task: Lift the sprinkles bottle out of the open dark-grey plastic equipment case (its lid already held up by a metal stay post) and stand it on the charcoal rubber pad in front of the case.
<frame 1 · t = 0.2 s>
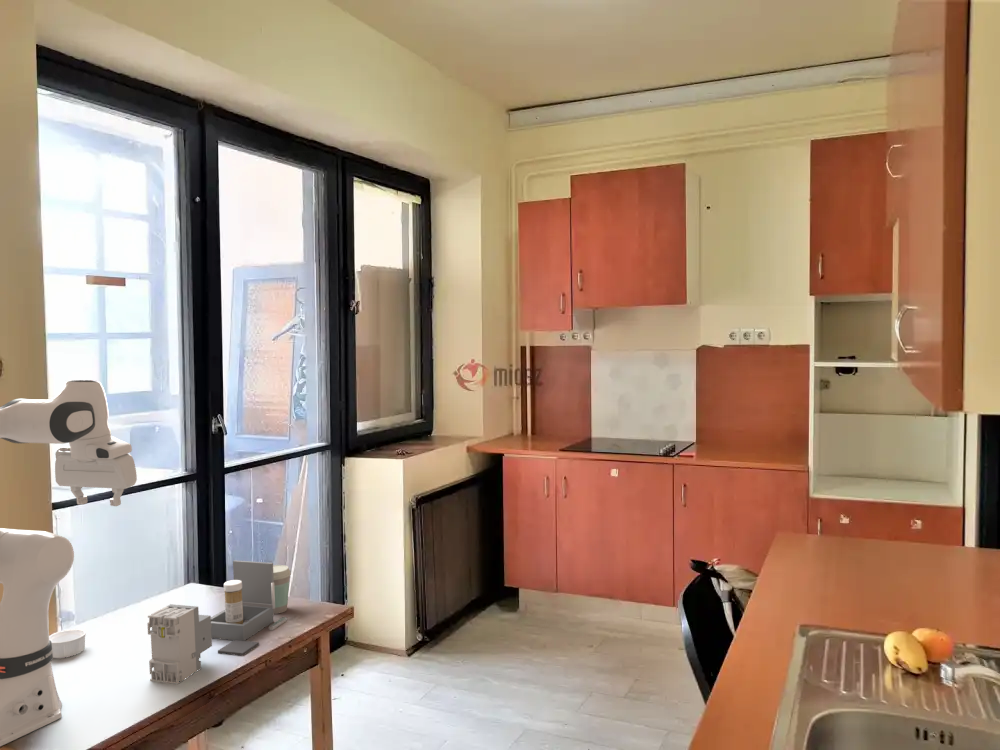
hand: (99, 504, 187), 39 cm above the table, tool pointing down, fingers open, 8 cm apart
coffee cup: (276, 611, 226), on the table
sprinkles bottle: (234, 632, 210), resting in case
pad: (238, 648, 199), on the table
circuit breaker: (184, 670, 187), on the table
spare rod: (277, 626, 214), on the table
case: (239, 629, 212), on the table
ramekin: (66, 653, 199), on the table
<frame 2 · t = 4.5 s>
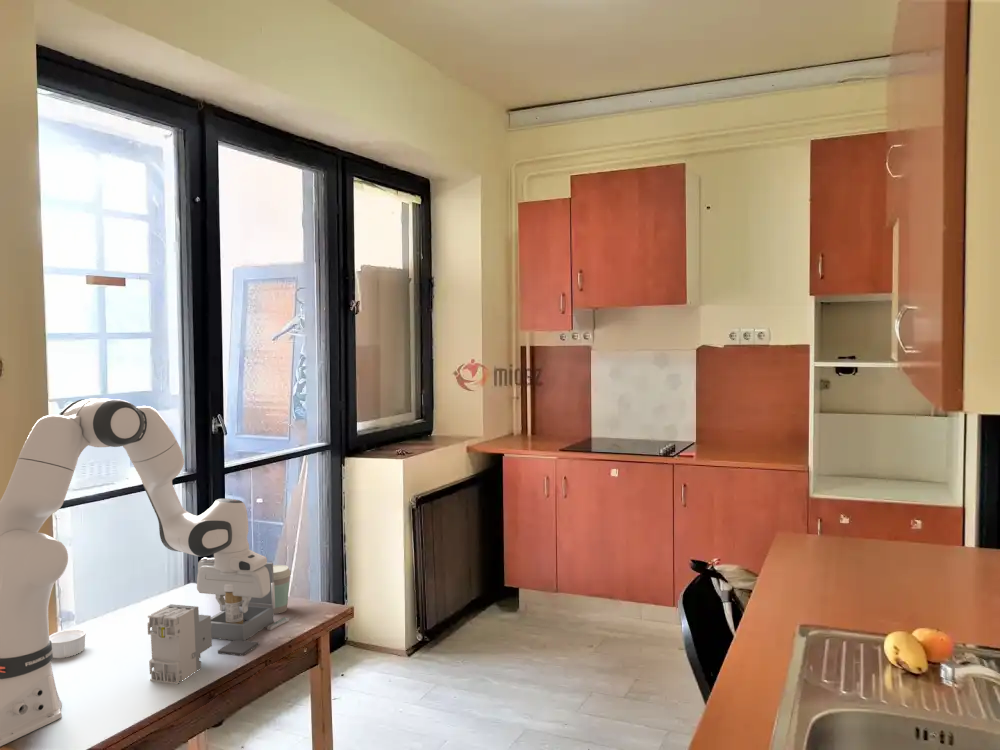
hand: (234, 611, 210), 6 cm above the table, tool pointing down, fingers closed on sprinkles bottle, 4 cm apart
sprinkles bottle: (235, 632, 210), resting in case, touching gripper
everything else where it was.
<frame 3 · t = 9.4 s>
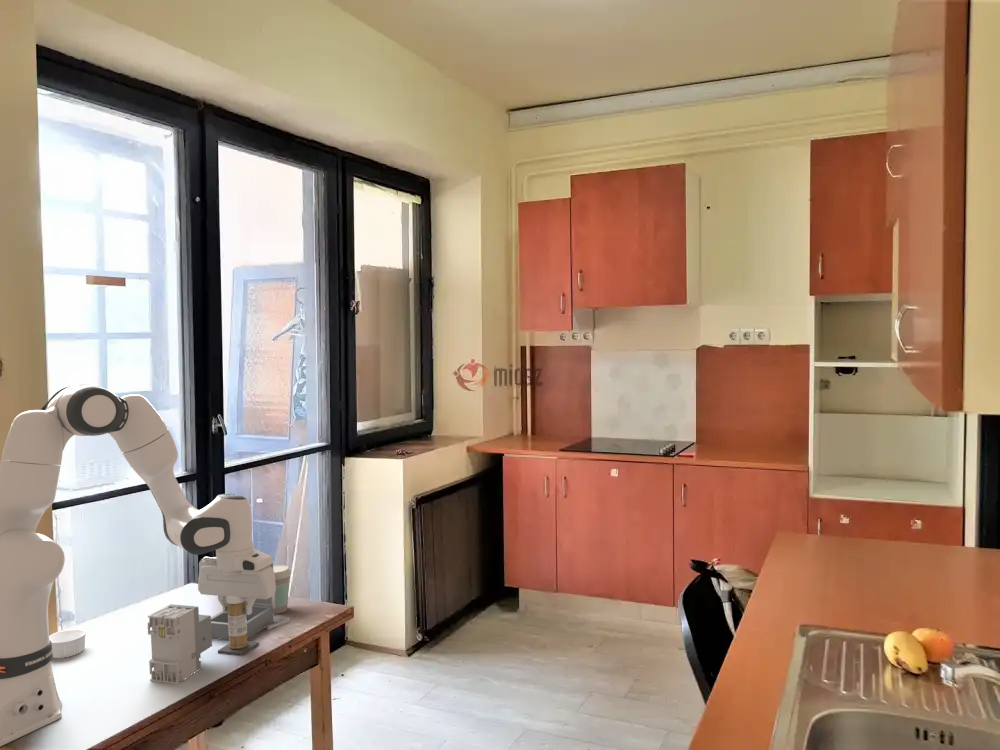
hand: (237, 613, 198), 9 cm above the table, tool pointing down, fingers closed on sprinkles bottle, 4 cm apart
sprinkles bottle: (238, 647, 199), resting on pad, touching gripper
everything else where it was.
when the fingers open (8 cm above the table, at t = 10.2 s): sprinkles bottle stays where it is, resting on pad.
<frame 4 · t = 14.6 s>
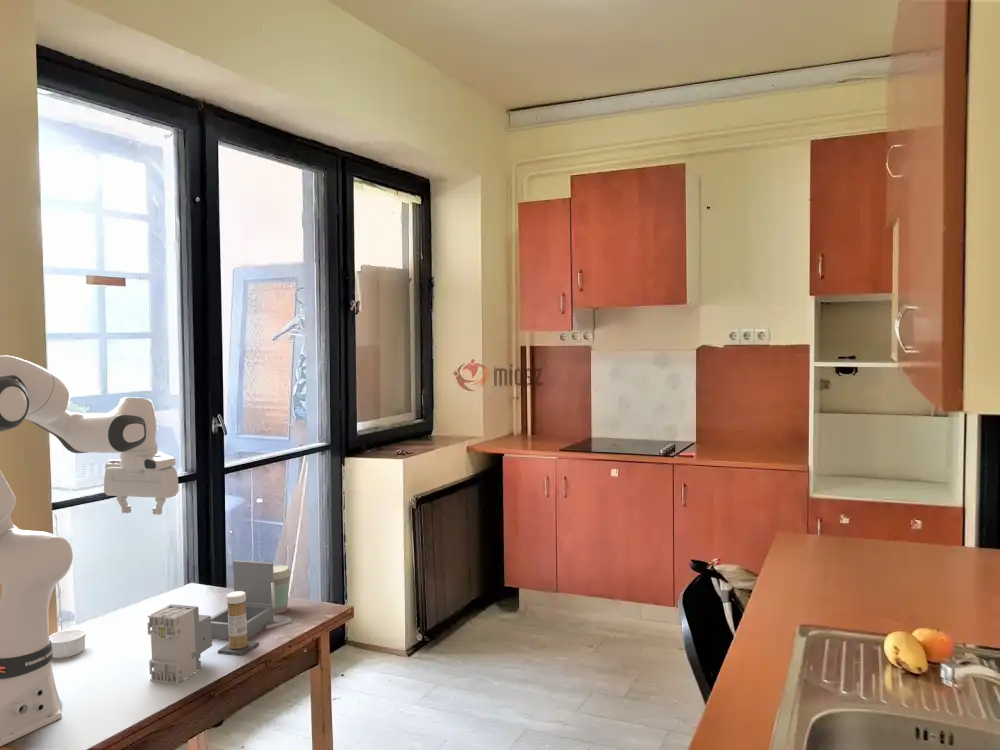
hand: (141, 513, 204), 33 cm above the table, tool pointing down, fingers open, 8 cm apart
sprinkles bottle: (238, 647, 199), resting on pad
at the end: sprinkles bottle 0.0 cm from the pad (horizontally); sprinkles bottle tilted 0°; sprinkles bottle resting on pad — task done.
